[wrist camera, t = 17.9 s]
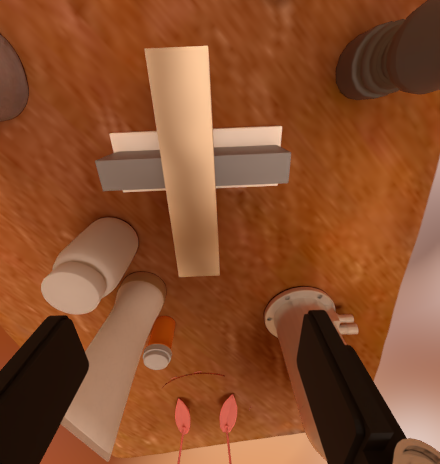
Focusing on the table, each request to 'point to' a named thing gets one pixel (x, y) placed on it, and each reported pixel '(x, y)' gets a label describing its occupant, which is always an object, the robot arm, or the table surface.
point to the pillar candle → (11, 82)
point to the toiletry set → (109, 325)
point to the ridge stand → (225, 158)
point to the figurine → (226, 417)
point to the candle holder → (394, 57)
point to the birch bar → (187, 153)
